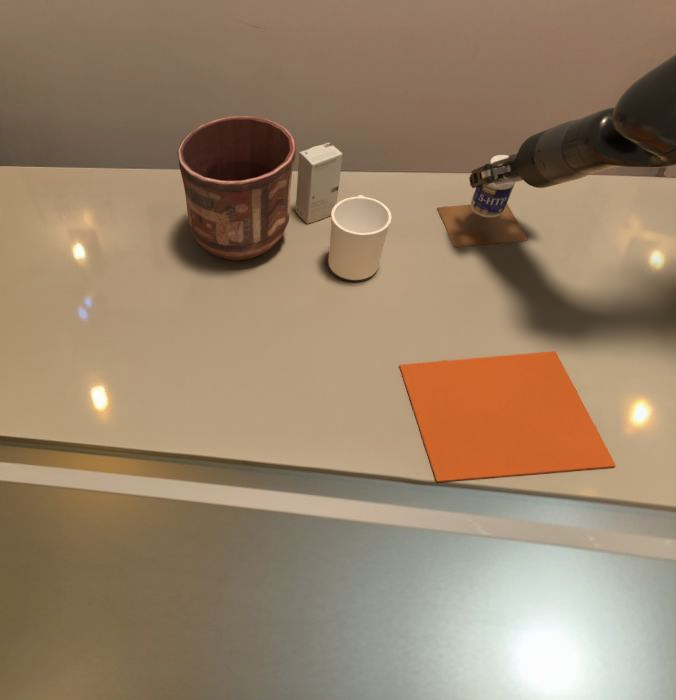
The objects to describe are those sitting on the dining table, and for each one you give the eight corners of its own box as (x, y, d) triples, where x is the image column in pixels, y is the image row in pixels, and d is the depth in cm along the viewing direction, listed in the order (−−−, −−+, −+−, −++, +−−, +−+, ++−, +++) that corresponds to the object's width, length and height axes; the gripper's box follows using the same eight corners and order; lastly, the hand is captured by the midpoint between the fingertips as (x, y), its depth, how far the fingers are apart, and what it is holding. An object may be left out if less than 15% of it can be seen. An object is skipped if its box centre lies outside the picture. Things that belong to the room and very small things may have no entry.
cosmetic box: (307, 225, 106) (311, 166, 96) (294, 211, 108) (297, 151, 99) (337, 213, 107) (344, 154, 98) (323, 200, 110) (329, 140, 100)
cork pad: (505, 202, 106) (505, 201, 106) (527, 240, 100) (527, 239, 100) (436, 208, 106) (437, 207, 106) (454, 247, 100) (455, 245, 100)
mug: (381, 286, 96) (392, 236, 88) (324, 282, 97) (330, 233, 89) (380, 239, 102) (390, 189, 94) (327, 236, 104) (332, 187, 96)
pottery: (276, 282, 98) (279, 191, 84) (174, 264, 102) (161, 173, 88) (301, 213, 108) (307, 121, 94) (207, 199, 112) (200, 108, 98)
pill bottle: (470, 216, 99) (486, 170, 92) (469, 196, 102) (485, 150, 96) (504, 220, 98) (523, 173, 91) (503, 200, 101) (521, 153, 95)
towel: (554, 352, 86) (555, 351, 86) (614, 467, 75) (616, 465, 74) (399, 366, 86) (399, 364, 86) (436, 482, 75) (436, 481, 75)
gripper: (607, 115, 81) (526, 146, 98) (508, 135, 80) (444, 162, 97) (614, 172, 82) (533, 192, 99) (517, 192, 81) (451, 209, 98)
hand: (489, 177), depth 98 cm, fingers closed on pill bottle, 5 cm apart
